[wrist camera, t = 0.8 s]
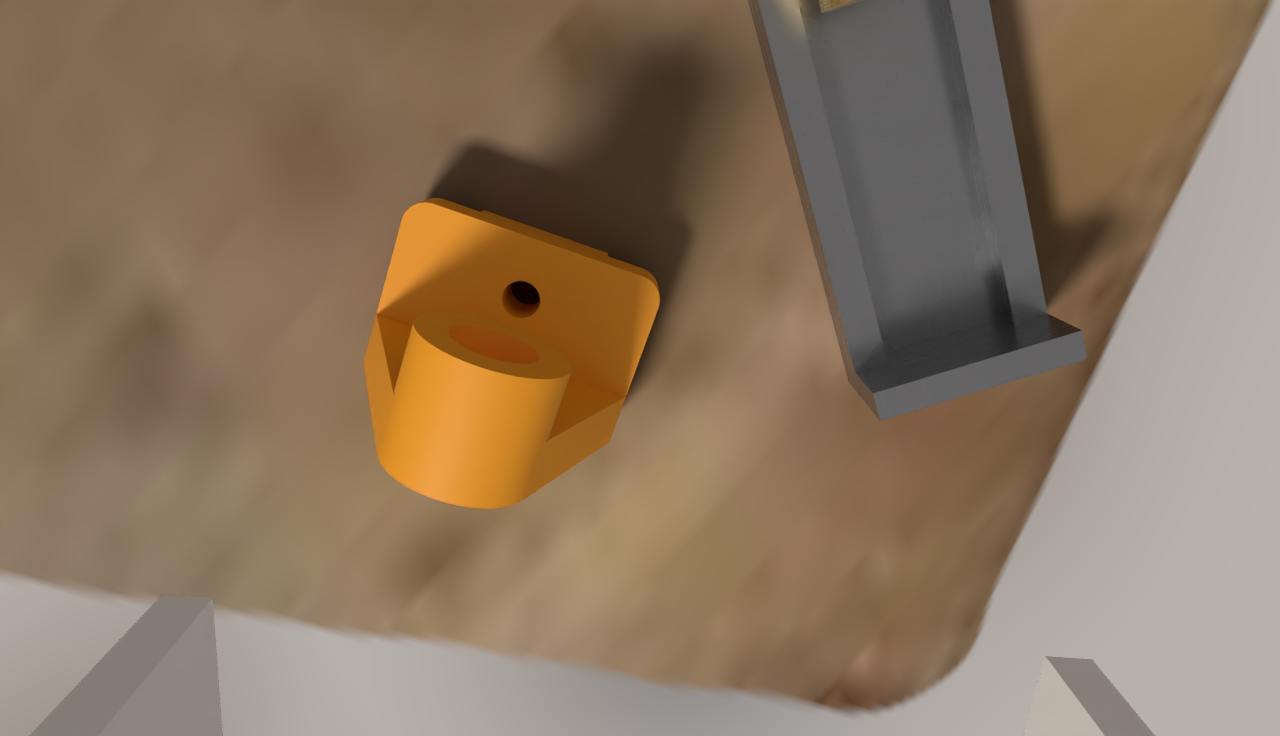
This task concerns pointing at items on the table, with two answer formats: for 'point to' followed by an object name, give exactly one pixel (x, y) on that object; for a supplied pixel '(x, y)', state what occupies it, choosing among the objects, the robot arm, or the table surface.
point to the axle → (835, 4)
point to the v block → (912, 196)
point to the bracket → (498, 354)
